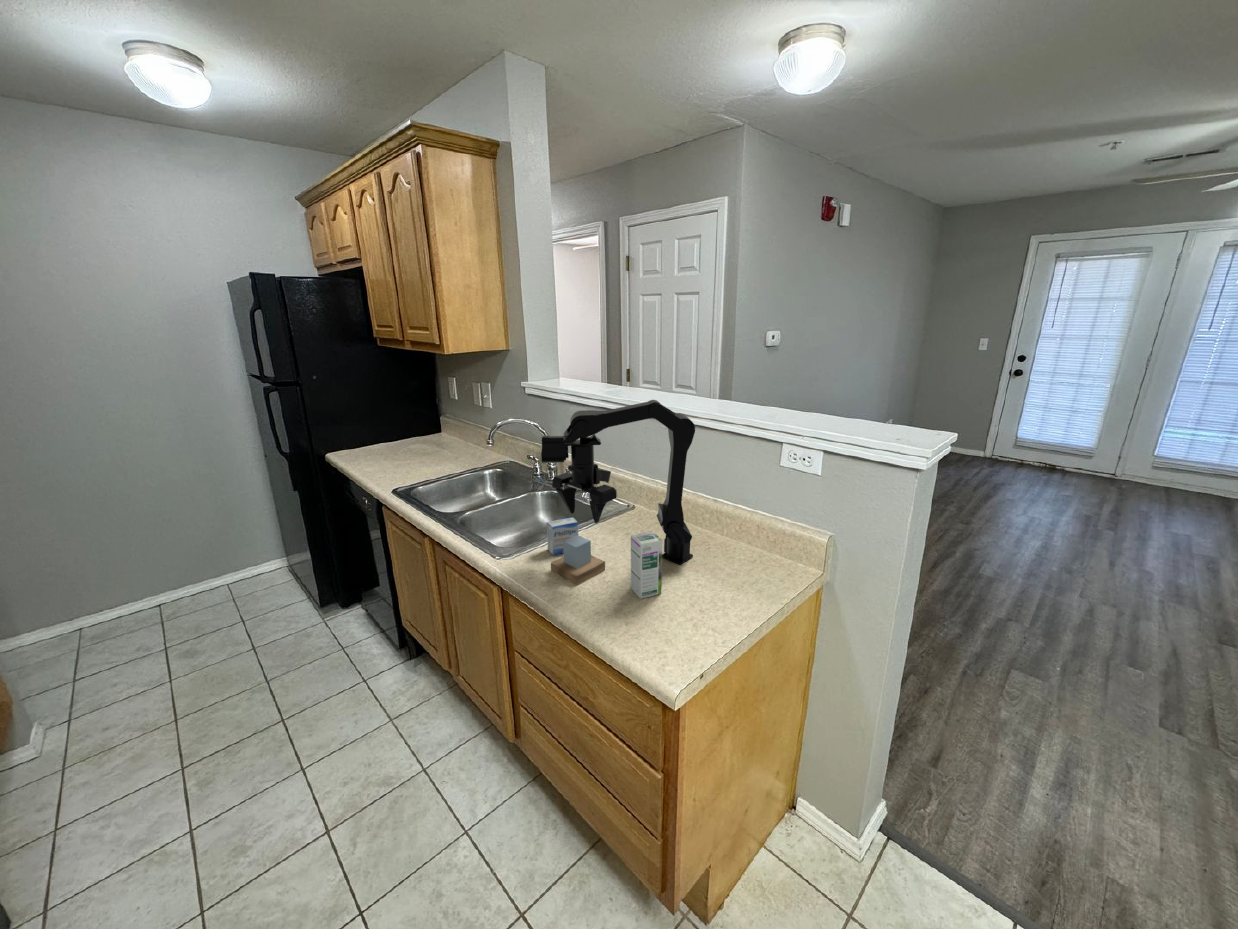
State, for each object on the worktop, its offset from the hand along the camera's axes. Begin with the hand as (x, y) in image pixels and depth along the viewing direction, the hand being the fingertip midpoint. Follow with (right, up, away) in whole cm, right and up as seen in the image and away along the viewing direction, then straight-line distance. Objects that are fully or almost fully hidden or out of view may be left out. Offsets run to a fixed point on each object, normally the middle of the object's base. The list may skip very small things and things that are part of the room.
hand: (584, 517), depth 132 cm
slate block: (-2, -11, -2) cm, 12 cm away
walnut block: (-2, -14, -1) cm, 14 cm away
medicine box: (-7, -10, +10) cm, 16 cm away
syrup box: (+16, -17, -10) cm, 25 cm away
